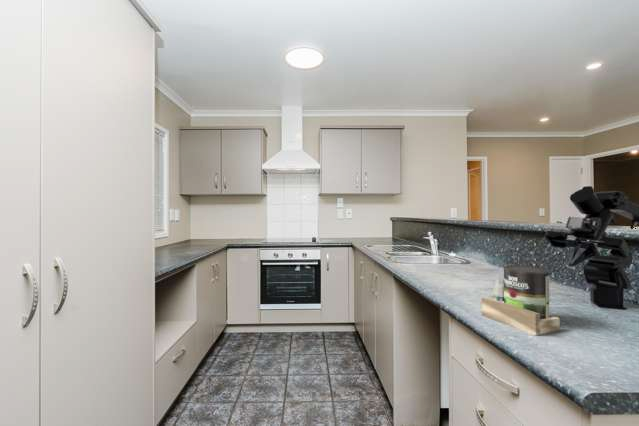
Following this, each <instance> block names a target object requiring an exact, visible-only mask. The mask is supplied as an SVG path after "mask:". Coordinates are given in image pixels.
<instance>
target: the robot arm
mask: <svg viewBox="0 0 639 426" xmlns="http://www.w3.org/2000/svg"><path fill="white" fill-rule="evenodd" d="M569 199H570V201H571V203H572V204H573V205H574V206H575V209H577V210H578V212H579V213H581V214H583V215H585V217H580V216H579V217H575V216H569V217H568V219H567V222H566V224H565V228H566V229H569V230H570V231H569V232H570V234H571V235H567V236H566V234H565V233H564V232H563V231H559V230H552V229H551V230H547V231H546V233H545V235H544V237H545V238H546V241H548V243H549V245H550V246H551V247H554V248H559V249H564V248H566V247H567V248H568V250H569V254H568V255H569V259H568V265H569V266H571V267H575V266H577V265H579V264H580V263H582V262H584V261H586V260H588V261H587V262H586V263H585V265H584V266H583V273H584V278H585V281H586V283H587V284H591V287H590V289H589V294H590V295H589V297H590V299H589V301H590V303H592V304H594V305H595V306H597V307H600V308H608V309H619V310H627V307H626V306H624V290H629V288H630V286H631V279H630V278H629V277H628V275H627V274H626V272H625V270H626V269H627V268H629V266H630V265H632V264H633V263H632V253H631V252H630V249H629V247H628V245H627V244H628V243H627V242H626V240H625V239H624V237H614V236H613V237H612V236H606V235H607V233H606V230H607V228H608V226H609V225H610V224H613V223H614V224H615V223H616V222H617V220H616V217H614V216H615V215H614V214H617V215H620V216H622V217H623V218H627V219H629V220H630V221H631V225H630V227H629V229H630V228H631V229H633V228H634V227H637V225H638V223H639V204H636V203H634V202H632V201H630V200H629V196H628V195H627V194H625V193H624V192H623V191H621V190H612V191H597V192H596V191H595V189H594V188H593V186H591V185H590V186H589V185H588V186H583V187H582V188H581V189H579V190H576V191H575V192H573V193H571V195H570V196H569ZM635 229H636V228H635ZM602 237H603V239H602ZM603 249H608V250H610V251H609V252H610V255H602V254H601V253H600V252H601V250H603Z"/></svg>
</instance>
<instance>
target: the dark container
mask: <svg viewBox="0 0 639 426" xmlns="http://www.w3.org/2000/svg"><path fill="white" fill-rule="evenodd" d="M502 268H503V279H504V303H507V304H510V305H513V306H516V307H520V308H523V309H526V310H530V311H533V312H536V313H539V314H540V320H541V319H547V318H550V274H551V271H550V270H549V269H547V268H544V267H539V266H530V265H522V264H521V265H519V264H514V265H513V264H508V265H504V266H503V267H502Z"/></svg>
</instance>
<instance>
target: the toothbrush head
mask: <svg viewBox="0 0 639 426" xmlns="http://www.w3.org/2000/svg"><path fill="white" fill-rule="evenodd" d="M490 295H491V299H494V300H497V301H500V302H502V301H504V277H503V278H502V277H501V278H500V277H497V278H496V279H495V280H493V291H492V292H490Z"/></svg>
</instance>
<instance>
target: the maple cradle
mask: <svg viewBox="0 0 639 426" xmlns="http://www.w3.org/2000/svg"><path fill="white" fill-rule="evenodd" d="M480 300H481V316H483V317H485V318H488V319H491V320H493V321H496V322H499V323H502V324H503V325H507V326H510V327H512V328H515V329H517V330H520V331H523V332H525V333H528V334H531V335H534V336H540V335H544V334H549V333H554V332H559V331H560V329H561V326H560V317H557V316H552V317H549V318H547V319H541V320H540V314H539V313H536V312H533V311H530V310H526V309H523V308H520V307H516V306H513V305H510V304H507V303H504V301H502V302H500V301H497V300H494V299H492V298H490V297H486V296H482V297H481V299H480Z"/></svg>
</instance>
